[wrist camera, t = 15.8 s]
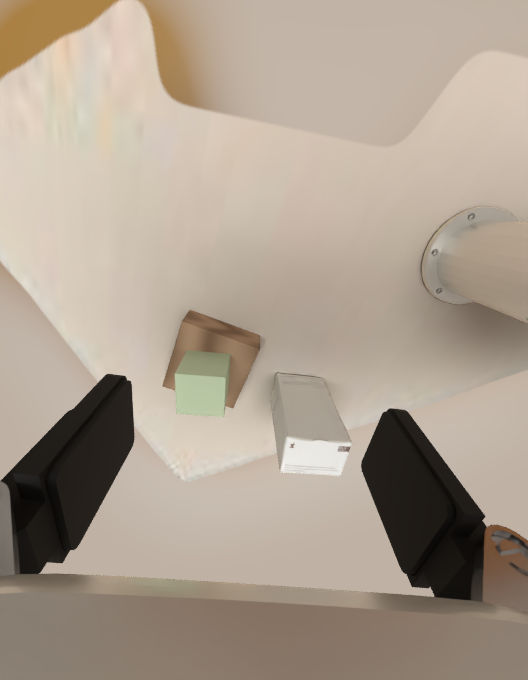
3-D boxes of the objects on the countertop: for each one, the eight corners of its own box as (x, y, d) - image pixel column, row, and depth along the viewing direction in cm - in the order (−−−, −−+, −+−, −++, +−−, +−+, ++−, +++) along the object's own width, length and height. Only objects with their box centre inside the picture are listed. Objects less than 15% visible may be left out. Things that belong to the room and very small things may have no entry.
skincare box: (270, 399, 47) (274, 474, 34) (276, 369, 44) (283, 437, 31) (317, 405, 48) (340, 480, 34) (326, 376, 45) (354, 445, 32)
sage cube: (230, 353, 38) (225, 377, 32) (228, 389, 40) (223, 416, 35) (186, 350, 38) (174, 373, 32) (187, 386, 40) (176, 413, 35)
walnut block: (259, 334, 42) (259, 349, 38) (235, 389, 46) (233, 408, 42) (190, 309, 40) (181, 321, 36) (172, 368, 45) (162, 386, 40)
